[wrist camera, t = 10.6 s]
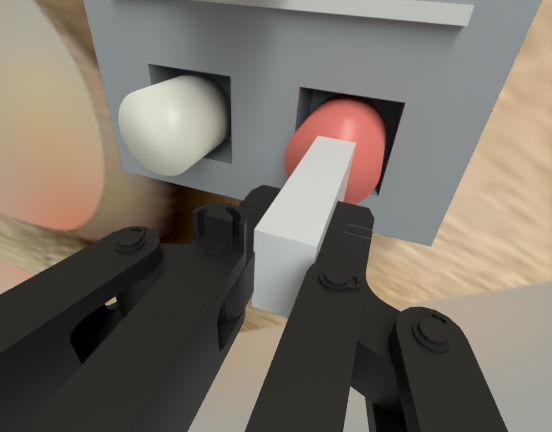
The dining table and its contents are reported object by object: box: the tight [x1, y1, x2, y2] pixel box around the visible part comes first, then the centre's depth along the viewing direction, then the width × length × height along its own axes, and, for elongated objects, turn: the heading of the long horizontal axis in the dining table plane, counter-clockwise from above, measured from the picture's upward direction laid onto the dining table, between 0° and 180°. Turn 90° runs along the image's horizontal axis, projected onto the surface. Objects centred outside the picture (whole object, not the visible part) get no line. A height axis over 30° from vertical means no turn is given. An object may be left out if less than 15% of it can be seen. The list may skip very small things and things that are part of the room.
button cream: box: [118, 73, 231, 176], centre depth 16 cm, size 4×4×4 cm
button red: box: [284, 94, 387, 204], centre depth 15 cm, size 4×4×4 cm
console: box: [83, 0, 542, 247], centre depth 16 cm, size 19×17×6 cm
